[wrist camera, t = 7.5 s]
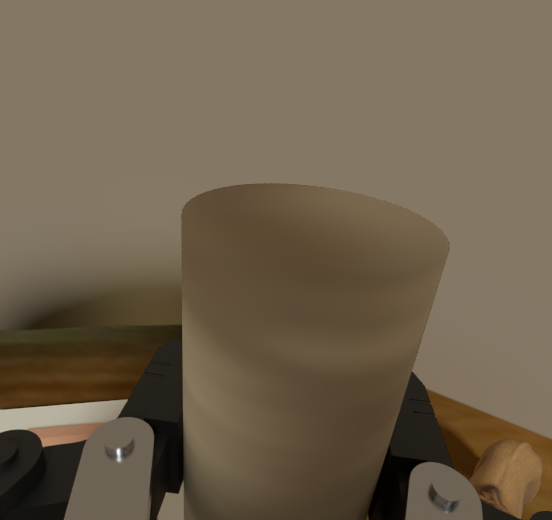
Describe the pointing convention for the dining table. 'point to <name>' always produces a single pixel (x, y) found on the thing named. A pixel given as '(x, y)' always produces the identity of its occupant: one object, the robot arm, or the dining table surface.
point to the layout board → (78, 433)
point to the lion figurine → (508, 476)
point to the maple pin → (297, 346)
